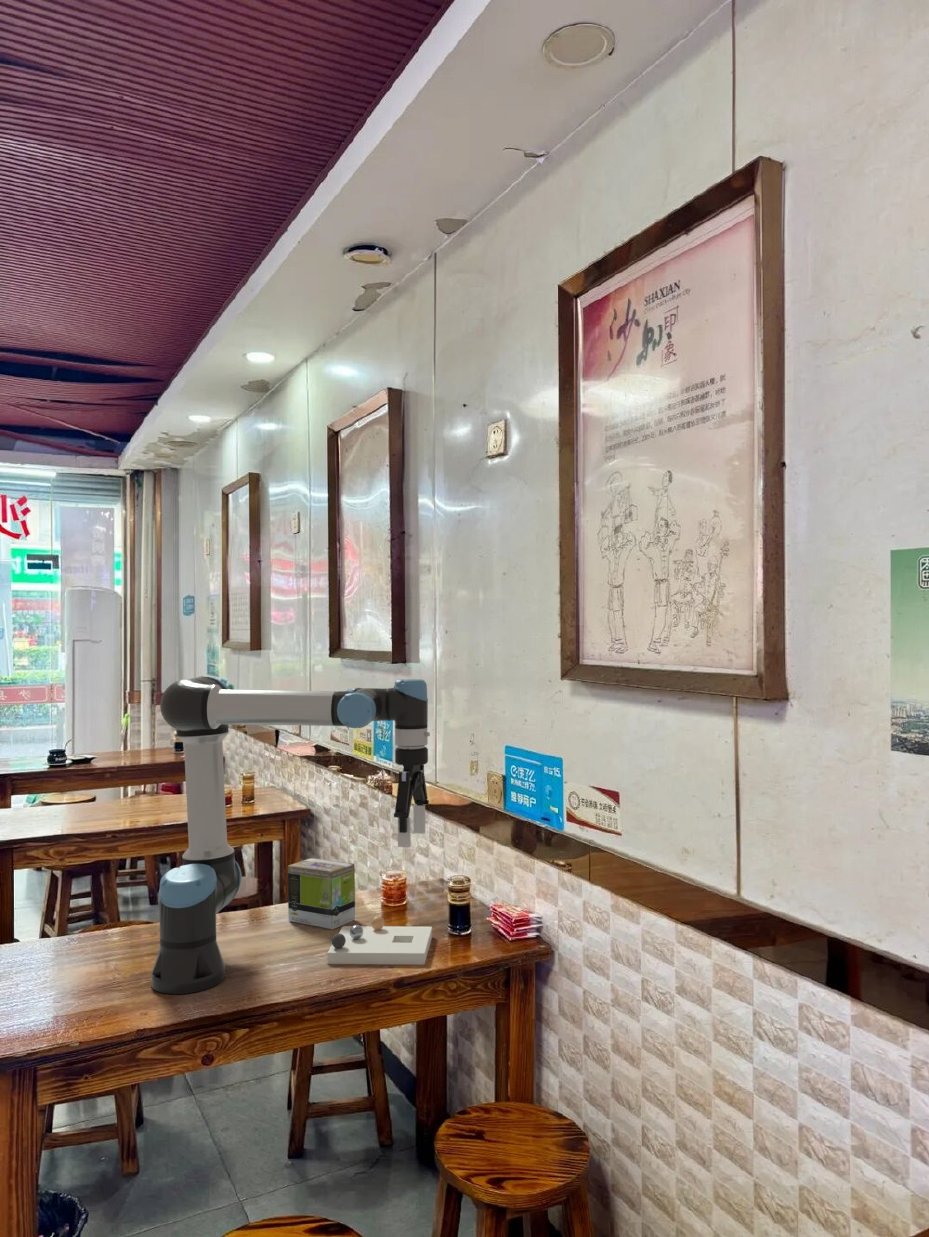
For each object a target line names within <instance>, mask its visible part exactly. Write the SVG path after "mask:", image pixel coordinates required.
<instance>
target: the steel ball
mask: <svg viewBox="0 0 929 1237" xmlns="http://www.w3.org/2000/svg"><path fill="white" fill-rule="evenodd" d="M351 926H352V927H351V929H350V936H351V937H352V938H353V939H359V938H361V937H362V935H363V929H362V927H361V925H360V924H354V925H351Z"/></svg>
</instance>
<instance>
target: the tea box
mask: <svg viewBox="0 0 929 1237" xmlns="http://www.w3.org/2000/svg"><path fill="white" fill-rule="evenodd" d="M355 870H356V869H355V863H354V862H353V863H352V862H345V861H336V860H330V859H322V858H314V857H311V858H307V859H303V860H301V861H298V862H295V863H292V864H289V865H287V906H288V907H287V908H288V912H287V913H288V914H287V915H288V916H287V917H288V918H287V919H288V922H293V923H297V924H303V925H308V926H313V927H319V928H323V929H328V930H334V929H337V928H339V927H343V926H345V925H346V924H348V923H350V922H353V921H354V920H355V919H356V885H355V884H356V882H355V880H356V879H355V877H356V876H355V875H356V874H355V873H356V872H355Z"/></svg>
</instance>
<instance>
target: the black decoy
mask: <svg viewBox="0 0 929 1237" xmlns="http://www.w3.org/2000/svg"><path fill="white" fill-rule="evenodd" d="M345 942H346V939H345V937H344V935H342V934H339V933H336V934H335V933H334V935H333V936H332V938H331V946H332V945H333V946H334V947H335V948H342V947H343V946H344V945H345Z"/></svg>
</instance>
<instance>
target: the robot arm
mask: <svg viewBox="0 0 929 1237" xmlns="http://www.w3.org/2000/svg"><path fill="white" fill-rule="evenodd" d="M427 686H428V685H427V682H426V681H425V680H424V679H418V678H414V679H413V678H409V679H408V678H407V679H401V678H400V679H396V680H395V682H394V685H393V687H389V688H375V687H374V688H370V687H367V688H364V687H363V688H362V687H355V688H347V689H344V690H343V691H341V690H340V691H336V690H335V691H334V690H333V691H331V690H330V691H325V690H282V689H281V690H275V689H269V690H268V689H230V688H229V686H228V685H227V684H226V683H224V682H223V680H220V679H218V678H215V677H212V676H204V675H202V676H197V677H191V678H183V679H182V678H181V679H178V680H176V681H175V682H173V683H172V684H170V685H169V686H167V688H166V689H164V692H163V693H162V695H161V698H160V703H159V704H160V706H159V707H160V708H159V709H160V713H161V716H162V718H163V720H164V721H165V723H167V724H168V725H169V726H170V727H172V728H173V729H176V737H177V739H179V741H181V742H182V744H183V746H184V747H183V748H184V750H183V751H184V769H185V770H184V771H185V773H184V774H185V789H186V791H185V792H186V793H185V795H186V809H187V810H186V813H187V814H186V816H187V832H188V833H187V834H188V835H187V836H188V838H187V839H188V848H187V849H186V850H185V851H184V853H183V854H182V858H181V859H182V865H180V866H178V867H174V868H171V869H170V870H168V871H166V873H164V874H163V875H162V876H161V878H160V880H159V881H160V882H159V890H158V901H159V902H158V903H159V904H158V905H159V911H158V912H159V950H158V953H157V956H156V959H155V962H154V964H153V968H152V972H151V976H150V977H151V985H150V986H151V988H152V989H153V990H155V991H156V992H159V993H162V994H168V995H169V994H170V995H183V994H191V993H197V992H200V991H201V992H202V991H205V990H208V989H211V988H213V987H216V986H217V985H218V984H220V983H222V981H224V979H225V977H226V966H225V965H226V964H225V961H224V959H223V955H222V952H221V950H220V947H219V945H218V942H217V914H218V913H219V912H221V910H223V908H225V907H226V906H228V905H229V904H230V903H232V901H233V900H234V898H235V897H236V896H237V893H238V892H239V890H240V888H241V886H242V885H241V884H242V880H243V879H242V876H243V875H242V870H241V868H240V865H239V863H238V862H237V861H236V858H235V855H236V854H235V848H234V847H232V846H231V845H230V844H229V843H228V834H227V833H228V832H227V812H226V810H227V808H226V791H225V790H226V788H225V787H226V786H225V769H224V766H225V765H224V750H223V749H224V748H223V741H224V739H225V738H226V737H227V736H228V734H229V725H237V726H239V725H242V726H243V725H245V726H246V725H247V726H251V725H252V726H309V727H310V726H312V727H313V726H315V727H316V726H317V727H318V726H319V727H320V726H321V727H322V726H323V727H325V726H326V727H329V726H330V727H348V728H350V729H361V728H362V729H363V728H364V727H366V726H368V725H369V724H370V723H372V722H381V721H382V722H386V721H388V722H392V721H394V745H395V746H396V748H395V750H394V762H395V764H397V765H399V766H402V768H403V769H402V771H398V784H397V790H396V799H395V810H394V813H393V818H397V847H398V848H411V847H412V846H411V843H412V840H411V835H412V834H411V826H412V824H413V827H412V828H413V829H412V830H413V832H412V833H413V834H426V806H427V805H429V802H430V801H429V799H428V793H427V784H426V779H425V778H426V777H425V776H426V775H425V765H427V764H428V762H429V748H428V747H426V746H428V744H429V743H428V738H429V737H430V736H431V734H430V733H431V732H428V727H429V726H428V720H429V718H428V714H429V713H428V710H429V709H428V707H429V705H428V704H429V702H428V701H429V698H428V687H427ZM413 801H414V802H413ZM412 802H413V803H414V805H413V804H412ZM412 805H413V807H412V808H413V812H412V813H413V822H412V823H411V816H410V812H411V806H412Z"/></svg>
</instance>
